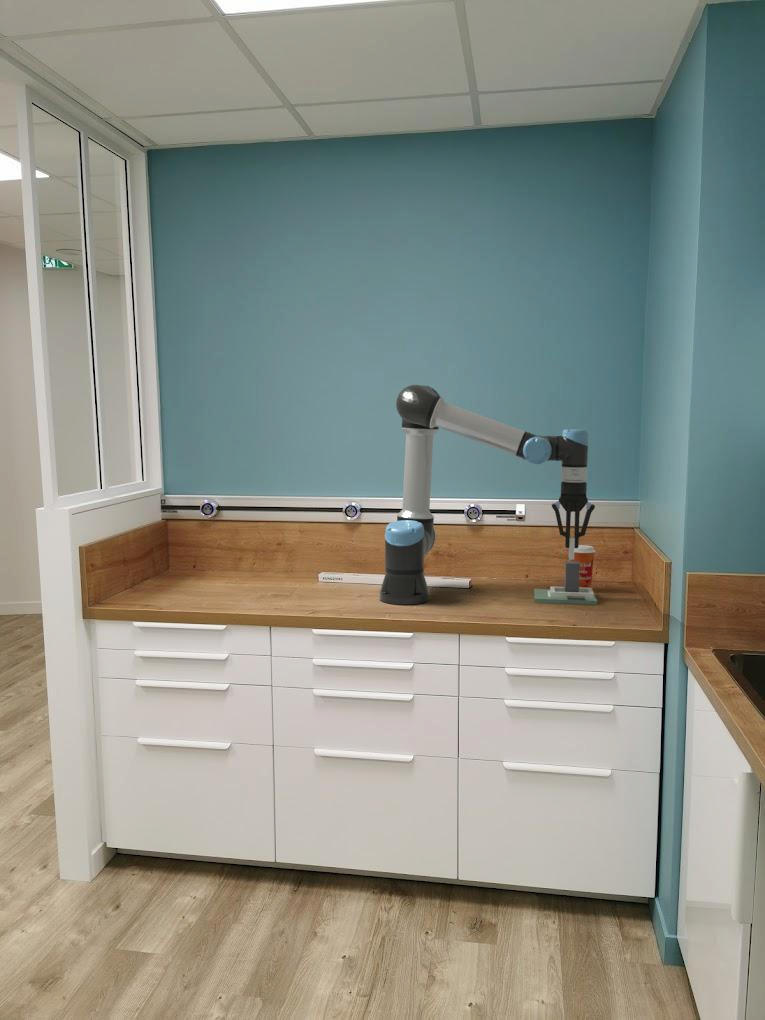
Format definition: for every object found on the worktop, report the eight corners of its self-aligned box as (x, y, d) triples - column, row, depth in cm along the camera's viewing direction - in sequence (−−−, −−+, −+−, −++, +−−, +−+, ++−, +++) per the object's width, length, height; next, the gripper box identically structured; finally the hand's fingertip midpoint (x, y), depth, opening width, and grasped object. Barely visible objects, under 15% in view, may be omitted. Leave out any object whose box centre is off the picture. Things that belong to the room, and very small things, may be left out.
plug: (565, 596, 246) (565, 563, 245) (564, 592, 251) (565, 560, 250) (578, 596, 246) (579, 563, 244) (577, 593, 250) (578, 561, 249)
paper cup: (566, 591, 259) (567, 547, 257) (572, 586, 265) (573, 544, 264) (591, 593, 255) (592, 549, 253) (596, 589, 262) (598, 545, 260)
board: (534, 602, 243) (535, 593, 243) (534, 592, 257) (534, 584, 257) (597, 604, 240) (597, 595, 240) (593, 594, 254) (593, 585, 254)
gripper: (552, 481, 242) (549, 560, 244) (597, 482, 239) (594, 561, 242) (551, 479, 249) (549, 555, 252) (595, 480, 247) (592, 557, 249)
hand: (571, 558), depth 247 cm, fingers closed
